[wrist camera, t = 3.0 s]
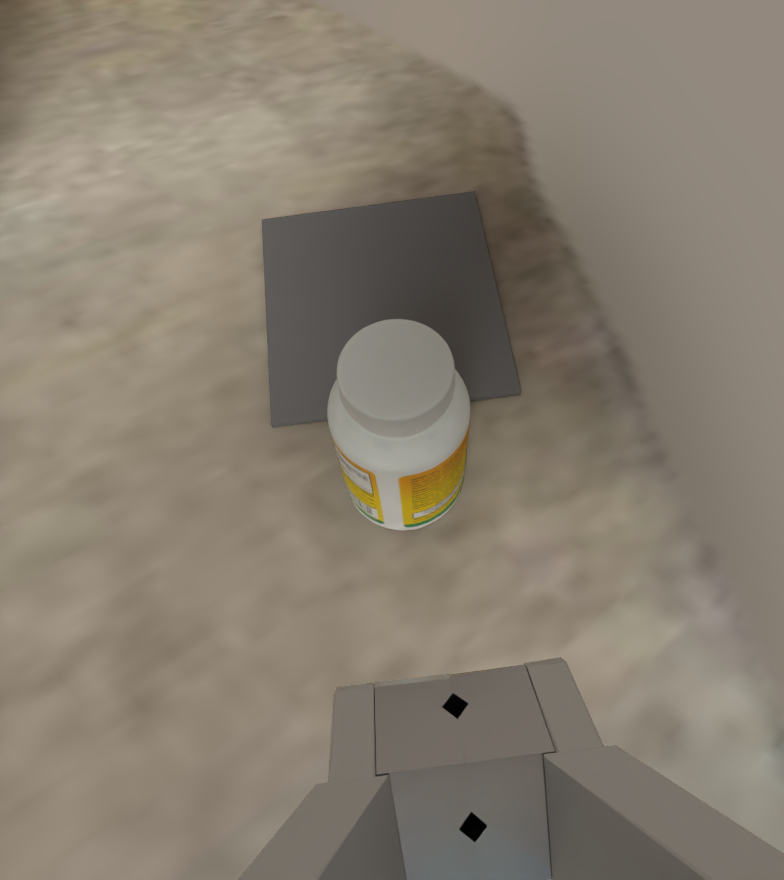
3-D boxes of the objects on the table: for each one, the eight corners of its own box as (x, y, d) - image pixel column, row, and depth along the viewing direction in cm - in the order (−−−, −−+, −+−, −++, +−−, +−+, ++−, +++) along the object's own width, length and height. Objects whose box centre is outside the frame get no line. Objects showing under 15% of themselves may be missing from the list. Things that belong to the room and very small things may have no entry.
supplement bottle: (335, 523, 31) (296, 425, 22) (360, 418, 33) (332, 293, 25) (455, 542, 30) (461, 449, 22) (472, 434, 33) (484, 310, 24)
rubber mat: (272, 427, 33) (271, 424, 33) (262, 223, 39) (262, 220, 39) (520, 394, 33) (520, 391, 33) (474, 195, 39) (474, 191, 39)
